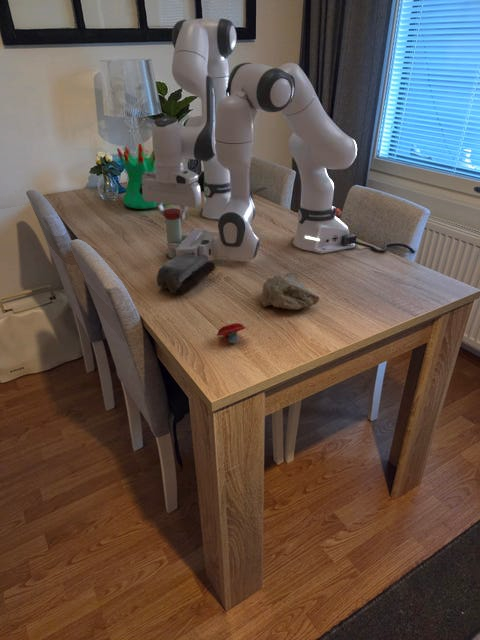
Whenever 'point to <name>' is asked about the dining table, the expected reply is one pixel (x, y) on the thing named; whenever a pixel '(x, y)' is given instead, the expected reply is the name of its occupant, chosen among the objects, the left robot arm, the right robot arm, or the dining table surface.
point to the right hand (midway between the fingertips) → (172, 241)
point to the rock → (184, 272)
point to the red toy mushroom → (231, 331)
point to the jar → (173, 234)
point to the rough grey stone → (287, 293)
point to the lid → (171, 213)
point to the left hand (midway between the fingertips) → (172, 216)
